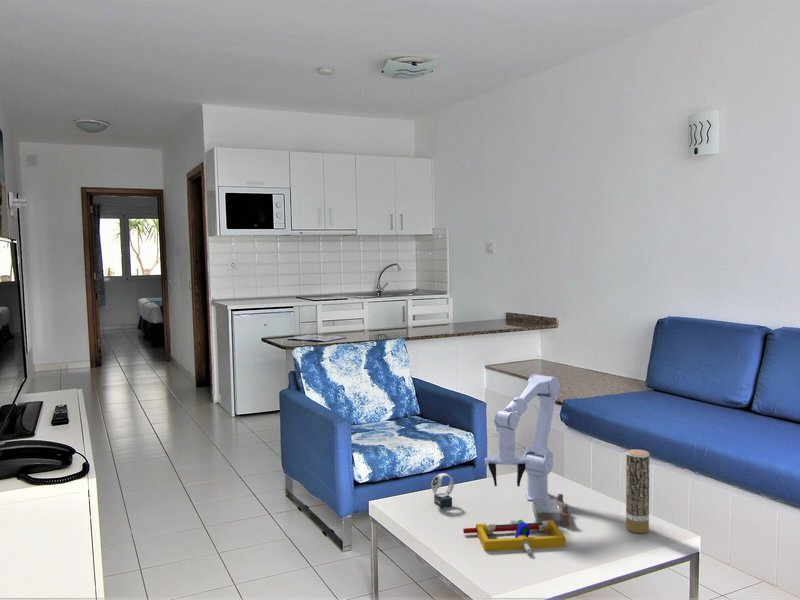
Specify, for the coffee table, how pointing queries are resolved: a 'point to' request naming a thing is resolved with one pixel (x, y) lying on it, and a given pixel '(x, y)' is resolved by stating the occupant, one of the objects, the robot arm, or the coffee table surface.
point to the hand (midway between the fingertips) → (506, 485)
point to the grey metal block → (546, 510)
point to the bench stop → (563, 510)
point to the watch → (442, 498)
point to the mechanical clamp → (519, 536)
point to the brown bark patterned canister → (637, 491)
